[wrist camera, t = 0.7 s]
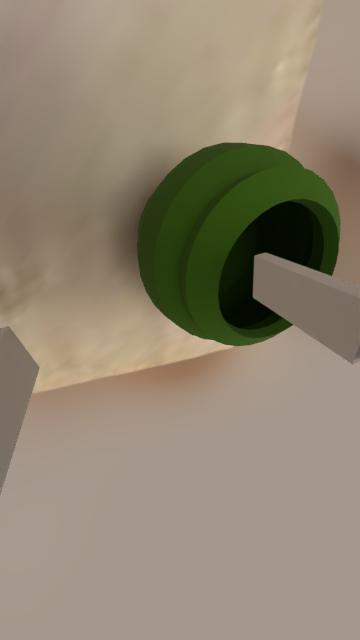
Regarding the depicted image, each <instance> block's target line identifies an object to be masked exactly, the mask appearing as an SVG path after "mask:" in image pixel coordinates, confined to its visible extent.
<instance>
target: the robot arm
mask: <svg viewBox="0 0 360 640" xmlns="http://www.w3.org/2000/svg"><path fill="white" fill-rule="evenodd" d="M253 298H254V299H256V300H257V301H259V302H260V303H262V304H263V305H265V306H266V307H268V308H269V309H271V310H272V311H274V312H275V313H277V314H278V315H280V316H281V317H283V318H284V319H286V320H287V321H289V322H290V323H292V324H293V325H295V326H296V327H298V328H299V329H301V330H302V331H304V332H305V333H307V334H308V335H310V336H311V337H313V338H314V339H316V340H317V341H319V342H320V343H322V344H323V345H325V346H326V347H327V348H329V349H330V350H332V351H334V352H335V353H337V354H338V355H340V356H341V357H342V358H344V359H345V360H347V361H348V362H350V363H352V364H354V363H356V362H358V361H360V286H358V285H355V284H352V283H350V282H347V281H344V280H341V279H338V278H335V277H333V276H330V275H327V274H324V273H322V272H319V271H316V270H313V269H310V268H308V267H305V266H302V265H299V264H297V263H294V262H291V261H288V260H285V259H283V258H280V257H277V256H274V255H271V254H269V253H266V252H265V253H262V254H258V255H255V256H254V279H253ZM39 368H40V367H39V366H38V365H37V363H36V362H35V361H34V359H33V358H32V357H31V355H30V354H29V353H28V351H27V350H26V348H25V347H24V346H23V344H22V343H21V342H20V340H19V339H18V338H17V336H16V335H15V334H14V332H13V331H12V330H11V328H10V327H9V326H7V327H4V328H0V494H1V490H2V487H3V484H4V481H5V477H6V474H7V471H8V468H9V464H10V461H11V458H12V455H13V452H14V448H15V445H16V442H17V439H18V435H19V432H20V429H21V426H22V423H23V419H24V416H25V413H26V410H27V407H28V403H29V400H30V397H31V394H32V390H33V387H34V384H35V381H36V377H37V374H38V371H39Z"/></svg>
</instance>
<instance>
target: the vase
mask: <svg viewBox="0 0 360 640" xmlns="http://www.w3.org/2000/svg"><path fill="white" fill-rule="evenodd" d="M339 240H340V216H339V209H338V205H337V202H336V200H335V197H334V195H333V192H332V191H331V189H330V188H329V186H328V185H327V184H326V182H325V181H324V180H323V179H322V178H321V177H319V176H318V175H316V174H315V173H314V172H312V171H310V170H307V169H304V167H303V166H302V165H301V164H300V162H299V161H297V160H296V159H295V158H293V157H292V156H291V155H289V154H288V153H286V152H285V151H282V150H279V149H276V148H273V147H270V146H264V145H256V144H247V143H221V144H217V145H213V146H209V147H206V148H203V149H201V150H199V151H198V152H196V153H194V154H192V155H190V156H189V157H187V158H185V159H184V160H183V161H182V162H181V163H180V164H178V165H177V166H176V167H175V168H174V169H173V170H172V171H171V172H170V173H168V175H167V176H166V177H165V178H164V180H163V181H162V182H161V183H160V185H159V186H158V187H157V189H156V190H155V191H154V193H153V194H152V196H151V197H150V198H149V200H148V202H147V204H146V207H145V209H144V211H143V213H142V216H141V220H140V224H139V229H138V243H137V247H138V261H139V268H140V275H141V278H142V281H143V284H144V287H145V289H146V292H147V294H148V295H149V297H150V298H151V300H152V302H153V303H154V305H155V306H156V307H157V308H158V309H159V310H160V311H161V312H162V313H163V314H164V315H165V316H166V317H167V318H169V319H170V320H171V321H172V322H174V323H175V324H176V325H178V326H179V327H181V328H182V329H184V330H185V331H187V332H188V333H190V334H192V335H195V336H197V337H200V338H203V339H210V340H215V341H217V342H220V343H223V344H225V345H233V346H243V345H251V344H255V343H259V342H262V341H265V340H267V339H269V338H271V337H274V336H275V335H277V334H279V333H280V332H282V331H284V330H286V329H287V328H289V327H290V326H292V325H293V324H292V323H290V322H289V321H287V320H286V319H284V318H283V317H281V316H280V315H278V314H277V313H275V312H274V311H272V310H271V309H269V308H268V307H266V306H265V305H263V304H262V303H260V302H259V301H257V300H256V299H254V298H253V279H254V256H255V255H258V254H262V253H265V252H266V253H269V254H271V255H274V256H277V257H280V258H283V259H285V260H288V261H291V262H294V263H297V264H299V265H302V266H305V267H308V268H310V269H313V270H316V271H319V272H322V273H324V274H327V275H330V276H332V274H333V271H334V268H335V265H336V261H337V255H338V248H339V247H338V246H339Z"/></svg>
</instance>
